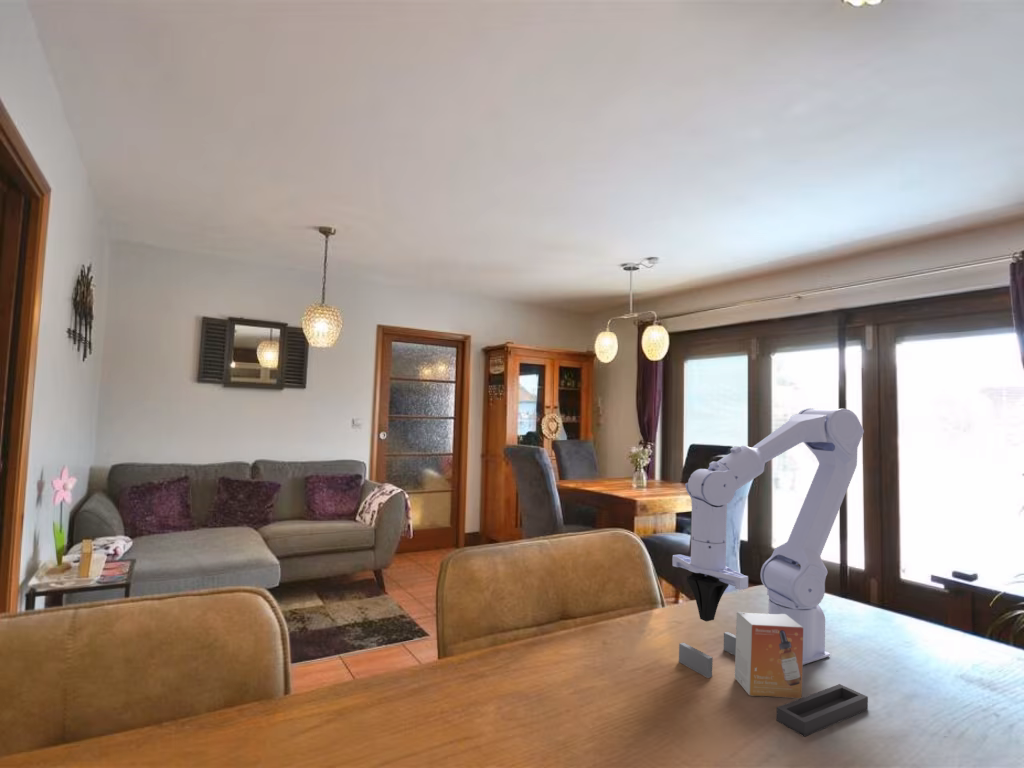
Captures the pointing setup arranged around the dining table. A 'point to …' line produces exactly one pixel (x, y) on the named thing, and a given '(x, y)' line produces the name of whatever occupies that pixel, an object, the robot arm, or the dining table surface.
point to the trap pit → (821, 709)
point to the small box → (769, 655)
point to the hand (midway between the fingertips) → (707, 619)
